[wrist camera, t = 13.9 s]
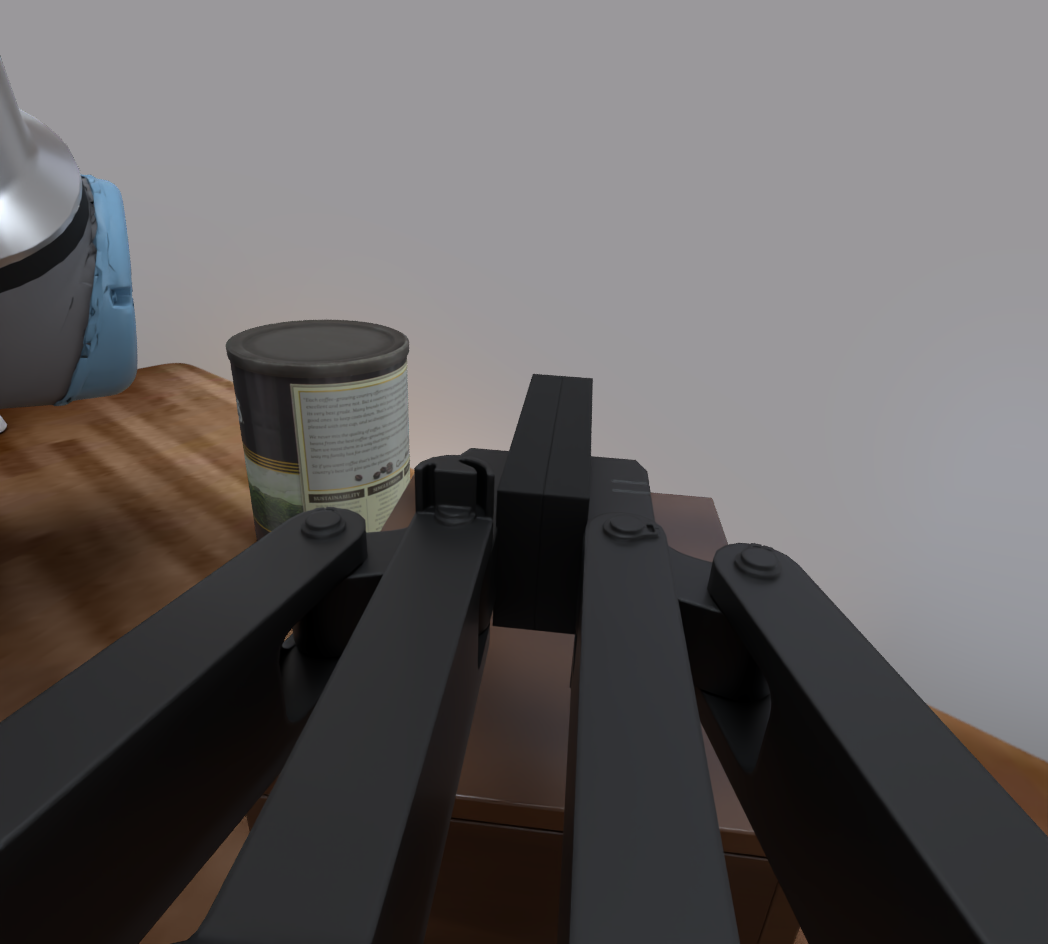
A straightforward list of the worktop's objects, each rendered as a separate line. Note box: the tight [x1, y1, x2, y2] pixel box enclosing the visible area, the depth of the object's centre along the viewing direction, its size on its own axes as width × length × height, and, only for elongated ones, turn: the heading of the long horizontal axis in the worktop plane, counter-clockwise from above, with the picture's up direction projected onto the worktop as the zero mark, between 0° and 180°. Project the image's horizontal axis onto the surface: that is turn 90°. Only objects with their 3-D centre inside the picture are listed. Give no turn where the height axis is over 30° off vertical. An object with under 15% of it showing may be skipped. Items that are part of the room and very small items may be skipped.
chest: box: [246, 794, 800, 944], centre depth 26 cm, size 17×14×9 cm
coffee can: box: [226, 320, 410, 541], centre depth 42 cm, size 10×10×14 cm
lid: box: [263, 474, 766, 857], centre depth 24 cm, size 18×14×1 cm
